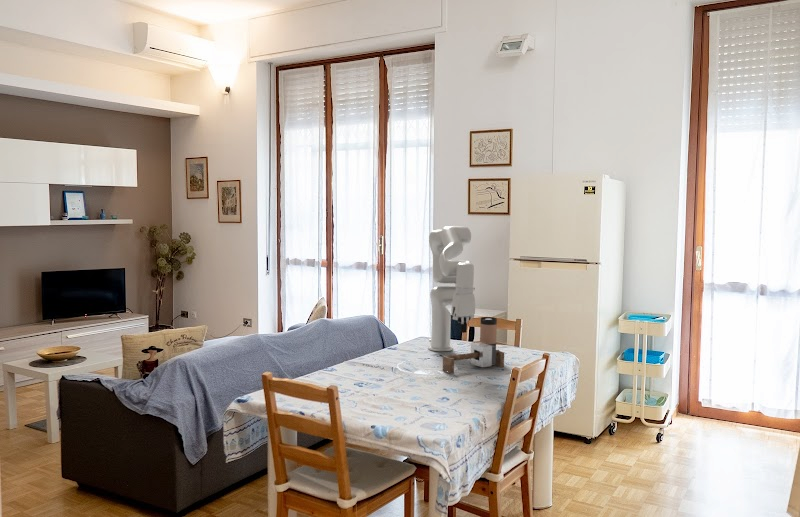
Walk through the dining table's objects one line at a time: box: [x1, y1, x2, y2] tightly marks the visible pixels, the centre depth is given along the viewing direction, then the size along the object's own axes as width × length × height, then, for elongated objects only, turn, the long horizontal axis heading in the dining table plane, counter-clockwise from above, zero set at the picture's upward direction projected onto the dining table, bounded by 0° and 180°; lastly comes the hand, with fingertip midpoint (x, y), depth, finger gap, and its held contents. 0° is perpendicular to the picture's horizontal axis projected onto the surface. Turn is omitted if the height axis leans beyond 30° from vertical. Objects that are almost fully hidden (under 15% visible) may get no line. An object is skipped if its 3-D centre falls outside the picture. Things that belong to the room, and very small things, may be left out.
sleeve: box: [470, 341, 492, 368], centre depth 301 cm, size 5×9×9 cm, turn 29°
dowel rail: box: [442, 349, 505, 374], centre depth 299 cm, size 29×6×7 cm, turn 119°
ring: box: [484, 343, 497, 366], centre depth 303 cm, size 2×8×8 cm, turn 29°
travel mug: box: [479, 316, 498, 347], centre depth 314 cm, size 8×8×20 cm
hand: (462, 331), depth 296 cm, fingers closed
